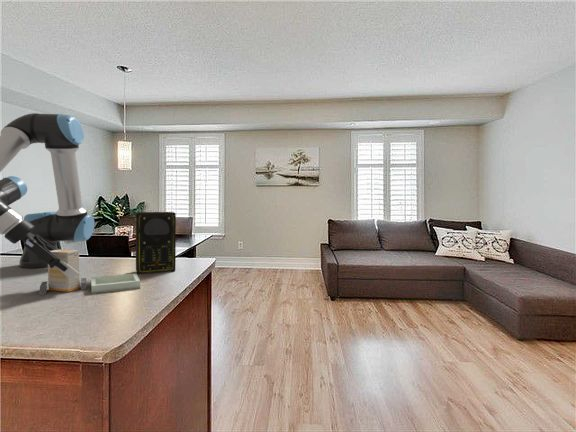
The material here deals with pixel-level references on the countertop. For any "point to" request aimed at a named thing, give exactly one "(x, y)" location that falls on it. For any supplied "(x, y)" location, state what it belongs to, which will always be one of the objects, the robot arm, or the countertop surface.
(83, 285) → the grey small blocks
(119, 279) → the tray
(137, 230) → the voltmeter
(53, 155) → the robot arm
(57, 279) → the supplement box
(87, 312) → the countertop surface
